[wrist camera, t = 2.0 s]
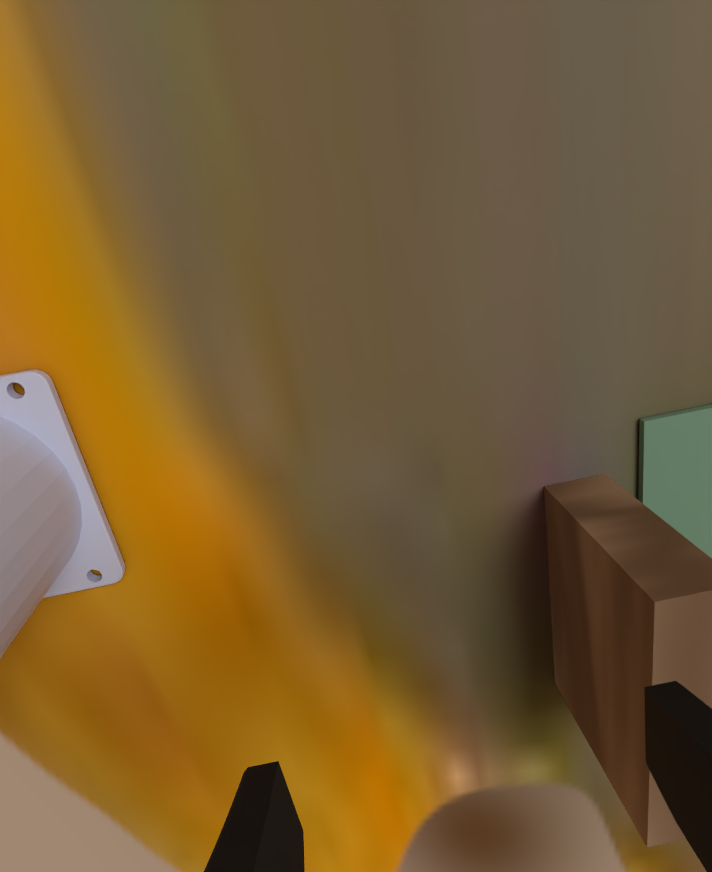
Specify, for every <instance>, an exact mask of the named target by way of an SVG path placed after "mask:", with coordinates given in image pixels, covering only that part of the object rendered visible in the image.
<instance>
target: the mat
mask: <svg viewBox="0 0 712 872" xmlns="http://www.w3.org/2000/svg"><path fill="white" fill-rule="evenodd" d="M638 500H639V501H640V502H641V503H643V504H644V505H645V506H646V507H648V508H649V509H650V510H651V511H653V512H654V513H655V514H656V515H658V516H659V517H660V518H661V519H663V520H664V521H665V522H666V523H668V524H669V525H670V526H671V527H673V528H674V529H675V530H676V531H678V532H679V533H680V534H682V535H683V536H684V537H685V538H687V539H688V540H689V541H690V542H692V543H693V544H694V545H695V546H697V547H698V548H699V549H700V550H702V551H703V552H704V553H705V554H707V555H708V556H709V557H710V558H712V404H710V405H705V406H700V407H695V408H690V409H685V410H680V411H675V412H670V413H665V414H661V415H656V416H651V417H646V418H641V419H640V424H639V488H638Z"/></svg>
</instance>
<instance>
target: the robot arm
mask: <svg viewBox="0 0 712 872" xmlns="http://www.w3.org/2000/svg"><path fill="white" fill-rule="evenodd" d="M14 382H15V383H19V384H21V385H22V386H23V388H24V390H25V394H24V395H20V394H18V393H16V392H15V390H14V389H13V383H14ZM91 570H97V571H99V572H100V573H101V574H102V575H101V576H97V575H94V574H93V573H92V572H91ZM125 570H126V568H125V563H124V561H123V558H122V556H121V553H120V551H119V548H118V546H117V543H116V541H115V538H114V536H113V533H112V530H111V528H110V525H109V523H108V520H107V518H106V515H105V513H104V510H103V508H102V505H101V503H100V500H99V498H98V495H97V493H96V490H95V487H94V485H93V482H92V480H91V477H90V475H89V472H88V470H87V467H86V465H85V462H84V460H83V457H82V455H81V452H80V450H79V447H78V445H77V442H76V439H75V437H74V434H73V432H72V429H71V427H70V424H69V422H68V419H67V417H66V414H65V412H64V409H63V407H62V404H61V402H60V399H59V396H58V394H57V391H56V389H55V386H54V384H53V381H52V380H51V378H50V377H49V375H47V374H46V373H45V372H43V371H40V370H38V369H30V370H25V371H20V372H15V373H10V374H4V375H0V658H1V657H2V655H3V654H4V653H5V651H6V650H7V648H8V647H9V645H10V644H11V643H12V641H13V640H14V638H15V637H16V635H17V634H18V633H19V631H20V630H21V628H22V627H23V625H24V624H25V623H26V621H27V620H28V618H29V617H30V615H31V614H32V613H33V611H34V610H35V608H36V607H37V605H38V604H39V603H40V601H41V600H42V598H47V597H52V596H56V595H61V594H66V593H71V592H76V591H81V590H85V589H90V588H95V587H100V586H105V585H110V584H114V583H116V582H119V581H120V580H121V579H122V577H123V575H124V573H125ZM644 695H645V750H646V764H647V766H648V768H649V770H650V772H651V774H652V776H653V778H654V780H655V782H656V784H657V786H658V788H659V790H660V792H661V794H662V796H663V798H664V800H665V802H666V804H667V806H668V808H669V810H670V811H671V813H672V815H673V817H674V819H675V821H676V823H677V824H678V826H679V828H680V829H681V831H682V833H683V834H684V836H685V837H686V839H687V841H688V842H689V844H690V845H691V847H692V849H693V850H694V852H695V853H696V855H697V856H698V858H699V860H700V861H701V863H702V864H703V866H704V868H705V869H706V871H707V872H712V708H710V707H709V706H708V705H707V704H705V703H704V702H703V701H702V700H700V699H699V698H698V697H697V696H695V695H694V694H693V693H692V692H690V691H689V690H688V689H687V688H685V687H684V686H683V685H681V684H680V683H678V682H677V681H672V682H667V683H662V684H657V685H652V686H647V687H644ZM204 872H304V841H303V829H302V826H301V823H300V821H299V818H298V815H297V812H296V809H295V807H294V804H293V801H292V798H291V795H290V793H289V790H288V787H287V784H286V781H285V779H284V776H283V773H282V770H281V767H280V765H279V762H278V761H277V762H272V763H267V764H262V765H257V766H252V767H248V768H247V769H246V771H245V772H244V774H243V776H242V779H241V782H240V785H239V787H238V790H237V793H236V795H235V798H234V800H233V803H232V806H231V808H230V811H229V813H228V816H227V818H226V821H225V823H224V826H223V828H222V831H221V833H220V836H219V838H218V840H217V843H216V845H215V848H214V850H213V852H212V855H211V857H210V859H209V862H208V864H207V866H206V868H205V871H204Z"/></svg>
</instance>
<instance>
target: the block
mask: <svg viewBox="0 0 712 872" xmlns="http://www.w3.org/2000/svg"><path fill="white" fill-rule="evenodd" d="M544 495H545V513H546V531H547V549H548V567H549V585H550V602H551V620H552V638H553V656H554V674H555V685H556V686H557V688H558V690H559V692H560V693H561V695H562V697H563V699H564V701H565V702H566V704H567V706H568V708H569V709H570V711H571V713H572V715H573V717H574V718H575V720H576V722H577V724H578V725H579V727H580V729H581V731H582V733H583V734H584V736H585V738H586V740H587V741H588V743H589V745H590V747H591V748H592V750H593V752H594V754H595V756H596V757H597V759H598V761H599V763H600V764H601V766H602V768H603V770H604V772H605V773H606V775H607V777H608V779H609V780H610V782H611V784H612V786H613V788H614V789H615V791H616V793H617V795H618V796H619V798H620V800H621V802H622V804H623V805H624V807H625V809H626V811H627V812H628V814H629V816H630V818H631V820H632V821H633V823H634V825H635V827H636V828H637V830H638V832H639V834H640V835H641V837H642V839H643V841H644V843H645V844H646V846H647V847H651V846H656V845H660V844H664V843H669V842H673V841H678V840H682V839H686V837H685V836H684V834H683V833H682V831H681V829H680V828H679V826H678V824H677V823H676V821H675V819H674V817H673V815H672V813H671V811H670V810H669V808H668V806H667V804H666V802H665V800H664V798H663V796H662V794H661V792H660V790H659V788H658V786H657V784H656V782H655V780H654V778H653V776H652V774H651V772H650V770H649V768H648V766H647V764H646V750H645V695H644V687H647V686H652V685H657V684H662V683H667V682H672V681H677V682H678V683H680V684H681V685H683V686H684V687H685V688H687V689H688V690H689V691H690V692H692V693H693V694H694V695H695V696H697V697H698V698H699V699H700V700H702V701H703V702H704V703H705V704H707V705H708V706H709V707H710V708H712V558H710V557H709V556H708V555H707V554H705V553H704V552H703V551H702V550H700V549H699V548H698V547H697V546H695V545H694V544H693V543H692V542H690V541H689V540H688V539H687V538H685V537H684V536H683V535H682V534H680V533H679V532H678V531H676V530H675V529H674V528H673V527H671V526H670V525H669V524H668V523H666V522H665V521H664V520H663V519H661V518H660V517H659V516H658V515H656V514H655V513H654V512H653V511H651V510H650V509H649V508H648V507H646V506H645V505H644V504H643V503H641V502H640V501H639V500H638V499H636V498H635V497H634V496H633V495H631V494H630V493H629V492H627V491H626V490H625V489H624V488H622V487H621V486H620V485H619V484H617V483H616V482H615V481H614V480H612V479H611V478H610V477H609V476H607V475H606V474H601V475H596V476H591V477H587V478H582V479H577V480H572V481H567V482H562V483H558V484H553V485H548V486H544Z"/></svg>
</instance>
